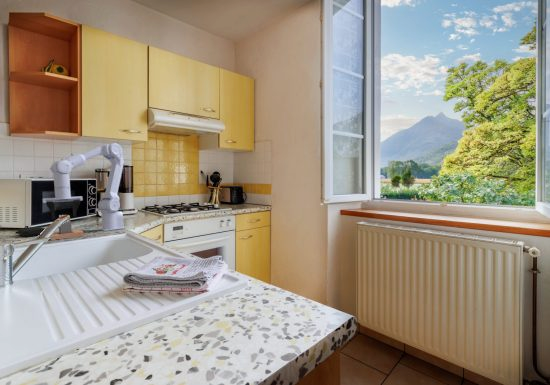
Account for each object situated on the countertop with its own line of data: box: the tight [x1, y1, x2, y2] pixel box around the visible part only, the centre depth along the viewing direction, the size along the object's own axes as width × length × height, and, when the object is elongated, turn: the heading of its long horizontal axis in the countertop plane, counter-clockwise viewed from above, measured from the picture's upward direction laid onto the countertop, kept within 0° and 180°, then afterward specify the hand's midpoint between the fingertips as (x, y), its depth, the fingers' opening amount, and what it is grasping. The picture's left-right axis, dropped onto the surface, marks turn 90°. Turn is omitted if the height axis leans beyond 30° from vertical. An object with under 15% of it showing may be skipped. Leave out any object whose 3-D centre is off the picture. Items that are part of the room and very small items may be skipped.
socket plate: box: [51, 228, 85, 240], centre depth 135 cm, size 12×13×2 cm
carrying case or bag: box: [15, 226, 46, 238], centre depth 143 cm, size 11×3×15 cm
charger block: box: [58, 220, 73, 234], centre depth 134 cm, size 4×5×7 cm
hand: (64, 217), depth 134 cm, fingers open, 7 cm apart
